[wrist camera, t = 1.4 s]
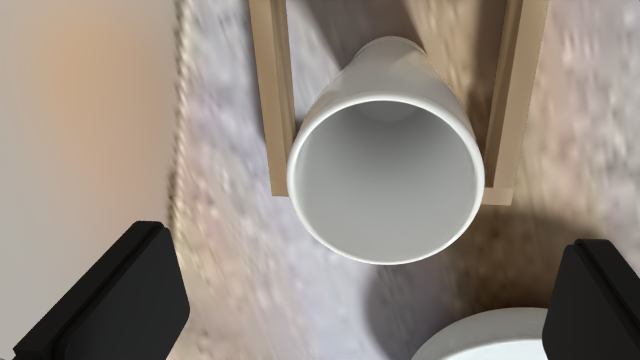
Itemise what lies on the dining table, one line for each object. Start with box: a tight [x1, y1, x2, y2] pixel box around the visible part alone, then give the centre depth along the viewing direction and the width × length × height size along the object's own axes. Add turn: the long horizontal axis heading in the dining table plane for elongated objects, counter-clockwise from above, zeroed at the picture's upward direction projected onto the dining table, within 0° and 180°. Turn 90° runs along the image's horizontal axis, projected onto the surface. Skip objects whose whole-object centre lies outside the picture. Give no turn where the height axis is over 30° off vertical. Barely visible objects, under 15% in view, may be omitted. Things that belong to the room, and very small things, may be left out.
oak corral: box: [249, 0, 549, 205], centre depth 26 cm, size 15×13×4 cm
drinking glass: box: [286, 36, 485, 265], centre depth 20 cm, size 7×7×15 cm
